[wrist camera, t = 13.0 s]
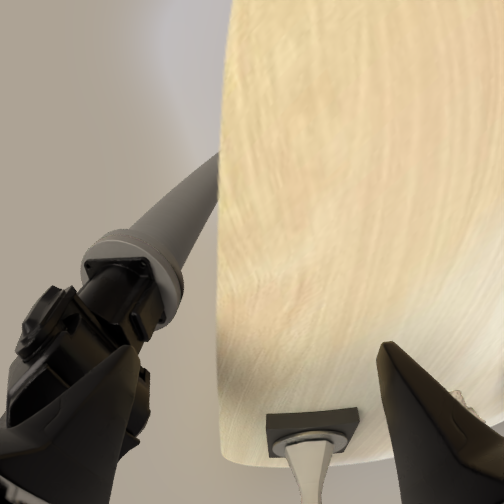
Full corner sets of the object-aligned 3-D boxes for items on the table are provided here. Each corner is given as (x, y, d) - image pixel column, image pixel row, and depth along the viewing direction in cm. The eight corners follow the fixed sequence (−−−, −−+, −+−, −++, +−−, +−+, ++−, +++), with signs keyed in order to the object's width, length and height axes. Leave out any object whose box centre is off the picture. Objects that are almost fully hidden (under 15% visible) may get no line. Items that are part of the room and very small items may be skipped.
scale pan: (273, 457, 35) (273, 460, 34) (271, 432, 30) (271, 436, 29) (340, 452, 34) (340, 455, 33) (353, 425, 29) (354, 429, 28)
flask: (277, 443, 30) (275, 509, 22) (331, 435, 29) (337, 502, 20) (289, 458, 33) (289, 514, 25) (337, 450, 32) (341, 507, 23)
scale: (269, 445, 37) (269, 458, 35) (266, 413, 32) (265, 430, 29) (342, 440, 36) (343, 453, 34) (357, 406, 31) (360, 422, 28)
